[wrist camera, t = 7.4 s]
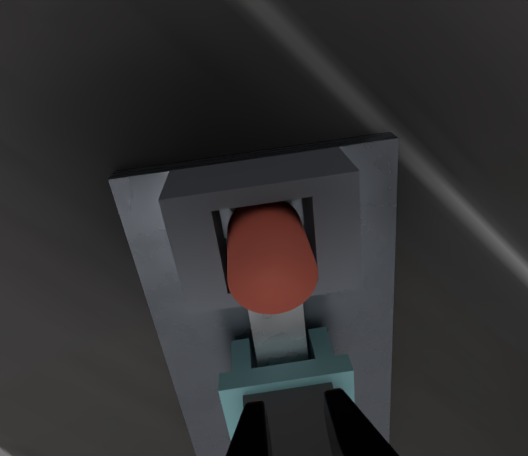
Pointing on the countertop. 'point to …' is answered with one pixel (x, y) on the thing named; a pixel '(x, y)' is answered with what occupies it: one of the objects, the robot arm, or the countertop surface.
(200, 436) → the rail base
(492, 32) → the countertop surface
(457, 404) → the countertop surface
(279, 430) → the carriage
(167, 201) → the windowed grey end block
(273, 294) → the button
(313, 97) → the countertop surface
